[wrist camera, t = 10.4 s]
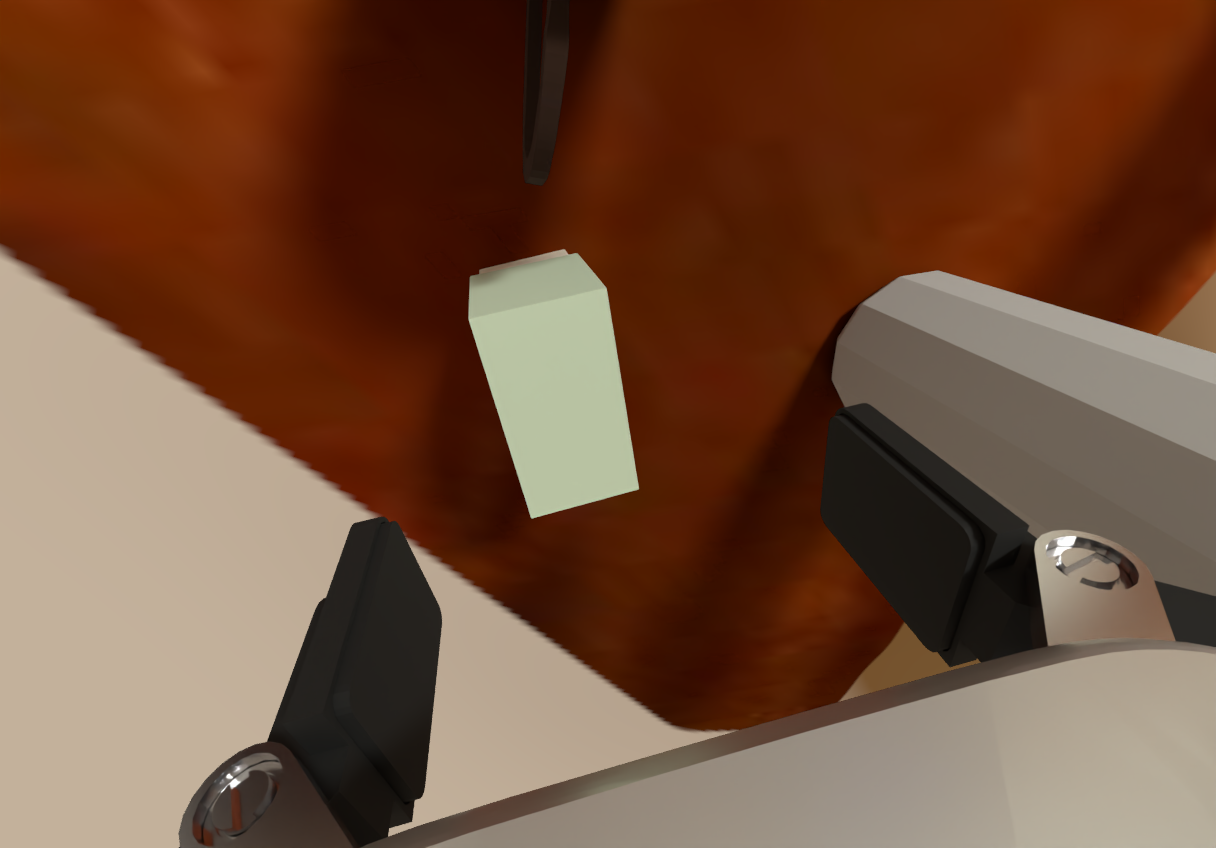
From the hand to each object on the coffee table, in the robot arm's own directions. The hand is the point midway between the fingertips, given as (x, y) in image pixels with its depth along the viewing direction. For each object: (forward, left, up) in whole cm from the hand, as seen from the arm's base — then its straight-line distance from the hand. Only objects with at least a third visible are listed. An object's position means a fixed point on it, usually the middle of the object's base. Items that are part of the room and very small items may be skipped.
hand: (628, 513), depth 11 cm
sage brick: (+1, -1, -7) cm, 7 cm away
